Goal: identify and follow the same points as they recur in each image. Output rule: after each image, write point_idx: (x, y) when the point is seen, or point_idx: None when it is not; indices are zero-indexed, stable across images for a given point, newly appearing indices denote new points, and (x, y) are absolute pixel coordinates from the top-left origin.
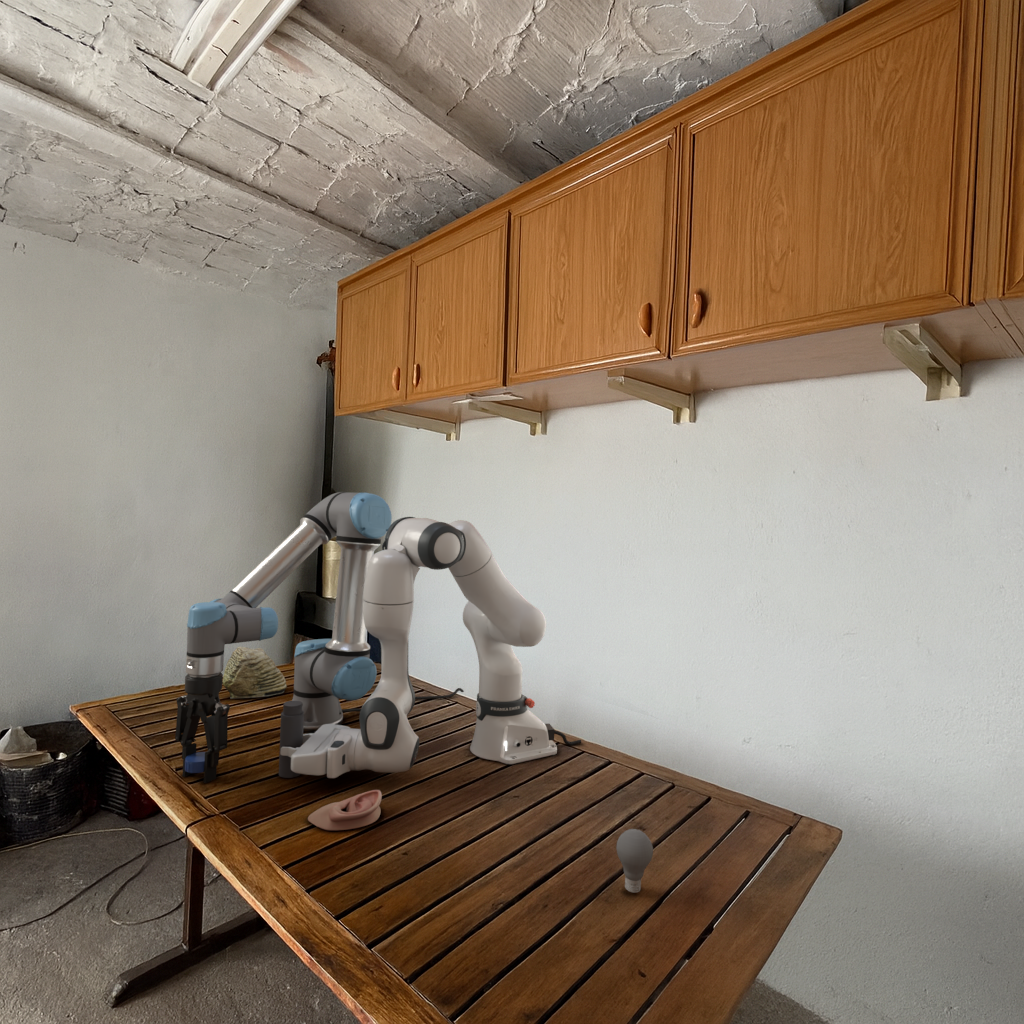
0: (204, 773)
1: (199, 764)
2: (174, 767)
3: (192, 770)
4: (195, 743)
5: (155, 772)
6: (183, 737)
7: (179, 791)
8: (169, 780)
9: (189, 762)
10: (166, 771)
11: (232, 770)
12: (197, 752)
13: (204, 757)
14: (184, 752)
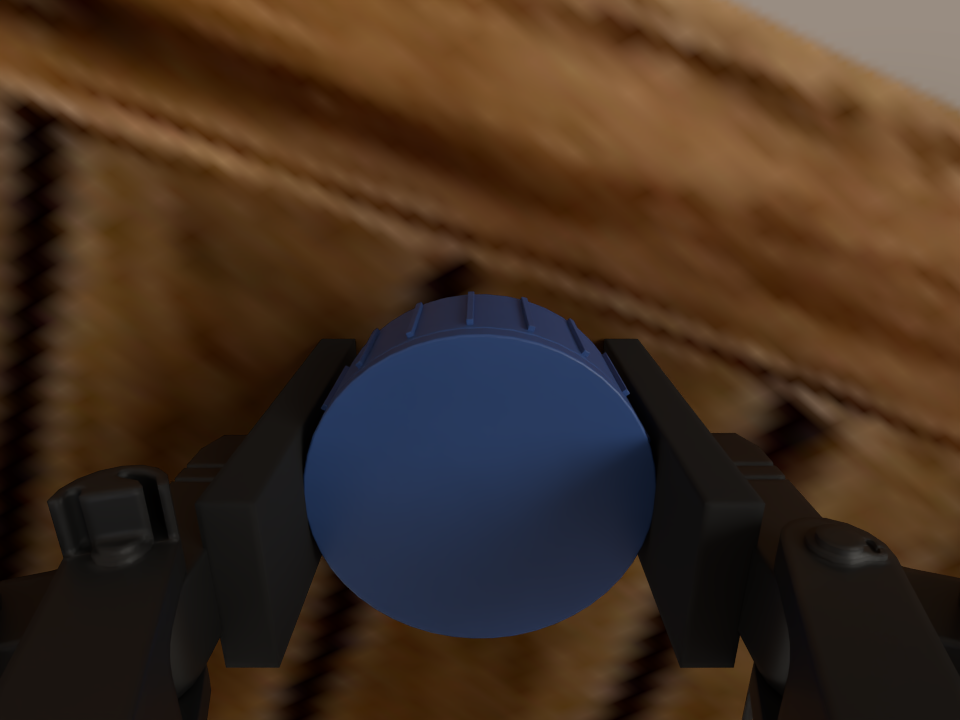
0: (327, 372)
1: (347, 380)
2: (852, 432)
3: (415, 307)
4: (703, 666)
5: (948, 278)
6: (897, 636)
7: (382, 85)
8: (681, 218)
9: (468, 332)
10: (860, 342)
11: (350, 601)
12: (620, 574)
13: (413, 516)
14: (710, 458)
